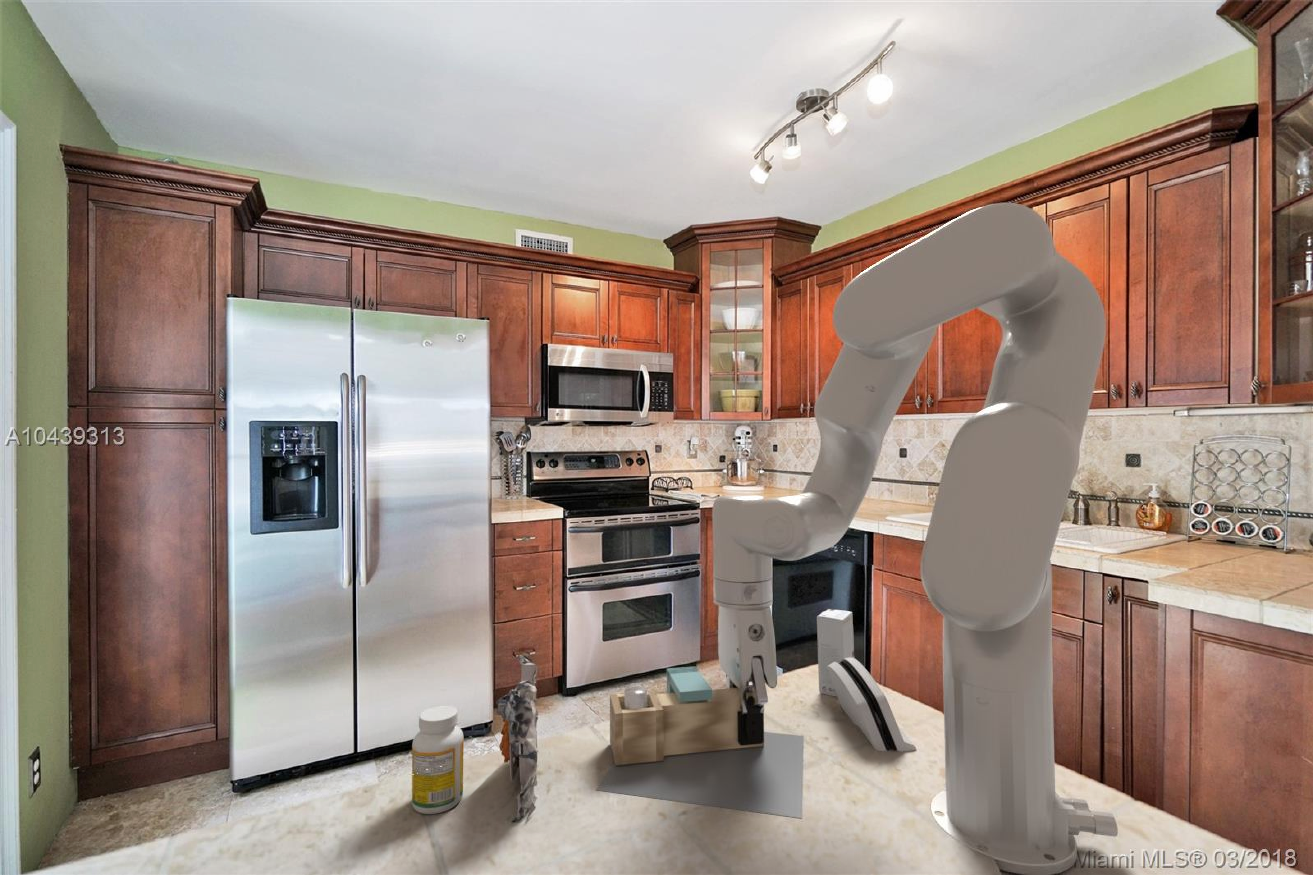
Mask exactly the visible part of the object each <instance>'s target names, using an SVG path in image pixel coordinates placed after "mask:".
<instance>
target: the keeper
mask: <svg viewBox="0 0 1313 875" xmlns="http://www.w3.org/2000/svg"><path fill="white" fill-rule="evenodd" d="M712 690H713V689H712V687H711V685H710V684H709V683H708V682H707V680H706V679H705V677H704V675H702V674H701V672H700V671H699V669H698V668H697V667H696V665H695V666H684V667H672V668H666V694H667V693H676V695H677V697H678V699H679V701H680V702H688V701H699V700H710V699H712Z"/></svg>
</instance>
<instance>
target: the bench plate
mask: <svg viewBox="0 0 1313 875" xmlns="http://www.w3.org/2000/svg"><path fill="white" fill-rule="evenodd" d="M804 740H805V738H804V735H799V734H787V733H778V732H769V731H764V746H757V747H747V748H737V749H727V750H717V751H707V752H697V753H687V754H677V755H667V756H664V761H654V762H644V763H635V764H625V765H615V762H614V761H613V762H612V763H611V765H610V766H609V768H608V770H607V772H606V773H605V775H604V777H603V778H602V780H601V781H600V783H599V784H598V785H597V788H596V789H595V791H597V792H603V793H604V792H605V793H613V794H617V795H619V794H621V795H627V796H634V797H642V798H648V799H656V800H664V801H670V802H671V801H672V802H677V803H678V802H679V803H686V804H690V805H691V804H692V805H698V806H699V805H700V806H708V807H713V808H722V809H728V810H729V809H730V810H735V811H742V812H743V811H744V812H750V813H758V814H766V815H771V816H772V815H774V816H779V817H788V818H793V819H803V792H804V791H803V789H804V788H803V787H804V786H803V785H804V784H803V782H804V780H803V779H804V742H805V741H804Z"/></svg>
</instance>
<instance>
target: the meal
mask: <svg viewBox="0 0 1313 875" xmlns="http://www.w3.org/2000/svg"><path fill="white" fill-rule="evenodd" d="M517 658H518V662H519V664H520V665H521V674H520V675H521V678H520V681H519V682H517V683H516V684H517V686H516V687H515V688H512V689H511V690H509V691H508V693H507V694H505V695H504V696H502V697H500V698H498V700H496V701H495V705H494V707H495V708H496V713H497V715H498V716H500V717H502V722H503V723H504V724H503V727H502V730H500V734H501V735H502V736H501V740H500V743H499V750H500V751H501V756H503V757H504V760H503V761H504V762H503V763H504V764H505V763H509V772H510V780H511V782H514V780H515V778H516V775H517V772H518V770H519V777H520V778H519V780H520V793H519V794H517V795H516V799H517V812H516V813H517V815H516V816H515V817H514V818H513V819H512V820H511V821H510V822H511V823H517V821H518V820H519V819H521V818H524V817H525V815H526V812H528V814H527V817H526V820H525V821H527V820H528V819H529V818H530V816H531V815H532V814H533V813H534V811H535V810H536V809H537V807H536V805H535V804H536V803H537V802H536V801H537V799H538V797H537V796H536V794H535V787H537V786H538V779H537V778H538V777H537V768H538V764H537V763H538V752H539V750H538V749H539V748H538V740H537V739H538V737H537V723H538V720H539V719H538V716H539V712H538V710H537V706H536V702H537V701H538V700H537V693H538V692H537V691H538V690H537V688H536V687H537V686H536V684H537V680H536V679H537V676H538V675H537V672H538V664H535V663H533V660H532V659H531V658H529V657H527V656H526V655H521V654H517Z"/></svg>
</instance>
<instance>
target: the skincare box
mask: <svg viewBox="0 0 1313 875" xmlns="http://www.w3.org/2000/svg"><path fill="white" fill-rule="evenodd" d="M853 622H854V621H853V612H852V611H849V610H841V609H833V608H828V609H826V610H825V611H821V613H820V614H819V615H817V616H816V626H817V627H816V630H817V631H816V632H817V634H816V635H817V661H818V663H817V664H818V669H817V670H818V671H817V672H818V692H819V693H820V694H824V695H826V696H830V697H836V698H838V696H837V693H836V691H835V688H834V685H833V682H832V679H831V676H830V674H829V671H828V668H827V666H828V665H830V664H831V663H833V662H837V663H840V662H841V661H842V659H844V658H850V657H852V658H855V642H854V641H855V640H854V624H853Z"/></svg>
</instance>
